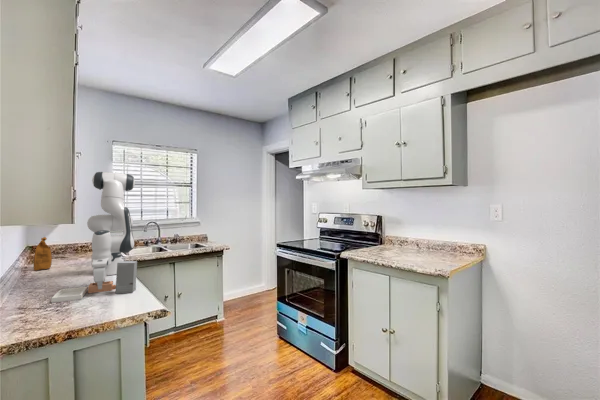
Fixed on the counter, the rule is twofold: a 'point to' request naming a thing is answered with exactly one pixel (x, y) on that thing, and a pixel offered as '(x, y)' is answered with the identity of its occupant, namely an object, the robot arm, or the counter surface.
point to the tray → (69, 294)
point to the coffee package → (42, 256)
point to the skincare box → (126, 277)
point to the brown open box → (105, 287)
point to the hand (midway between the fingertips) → (101, 287)
